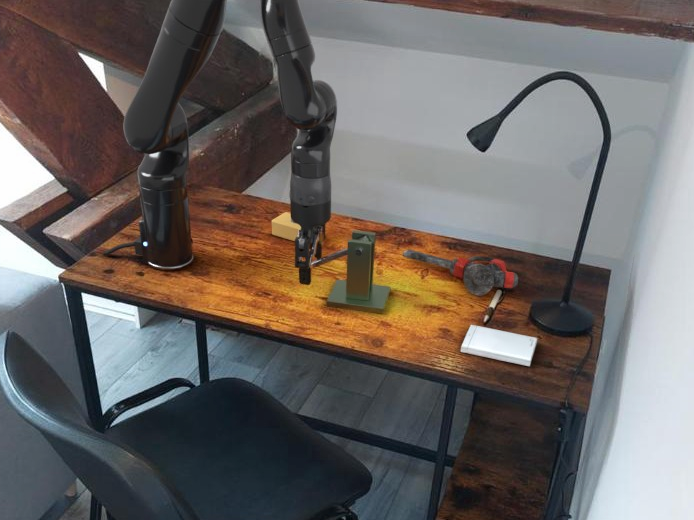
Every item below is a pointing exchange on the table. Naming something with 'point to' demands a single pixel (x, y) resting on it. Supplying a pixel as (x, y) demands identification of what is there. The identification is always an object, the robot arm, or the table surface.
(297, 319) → the table surface
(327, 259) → the lever
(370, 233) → the bracket
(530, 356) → the hard drive
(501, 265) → the valve
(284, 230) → the rubber stamp
